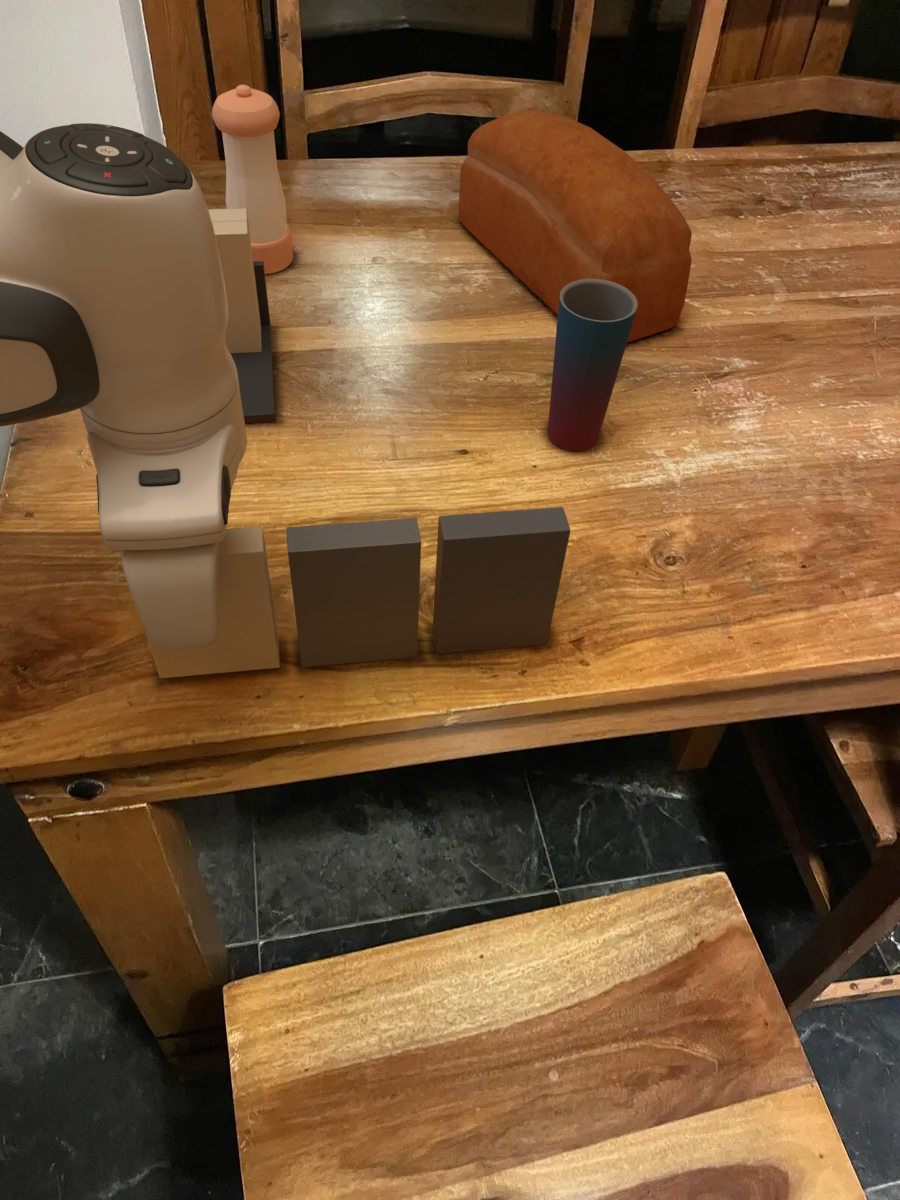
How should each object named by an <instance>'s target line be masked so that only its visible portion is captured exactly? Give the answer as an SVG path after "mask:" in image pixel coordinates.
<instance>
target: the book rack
mask: <svg viewBox="0 0 900 1200" xmlns="http://www.w3.org/2000/svg"><path fill="white" fill-rule="evenodd" d="M208 211H209V214H210V217H211V221H212V224H213V228H214V232H215V236H216V240H217V245H218V250H219V254H220V259H221V265H222V270H223V276H224V282H225V288H226V295H227V302H228V323H227V328H226V334H225V339H226V345H227V348H228V350H229V352H230V354H231V356H232V358H233V360H234V362H235V365H236V369H237V373H238V379H239V388H240V395H241V402H242V409H243V415H244V422H245V424H259V423H260V424H261V423H275V422H276V420H277V419H276V403H275V402H276V401H275V384H274V381H275V380H274V359H273V340H272V325H271V317H270V308H269V299H268V290H267V289H268V287H267V279H266V274H265V270H264V262H263V261H253V256H252V248H251V239H250V231H249V223H248V215H247V209H246V208H243V209H227V208H212V209H210V208H208Z"/></svg>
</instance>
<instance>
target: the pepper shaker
mask: <svg viewBox="0 0 900 1200" xmlns="http://www.w3.org/2000/svg"><path fill="white" fill-rule="evenodd" d="M211 109H212V110H211V117H212V120H213V122H214V124H215V126H216V127H217V129H218V130H219V131H220V132H221V135H222V142H223V144H222V145H223V149H224V160H225V168H226V171H225V172H226V175H225V206H226V207H225V208H226V209H243V208H246V209H247V215H248V223H249V231H250V239H251V248H252V256H253V261H263V262H264V270H265V275H267V274H269V275H270V274H274V273H278V272H280V271H283V270H285V269H286V268H288V267H289V266H290V265H291V264H292V262H293V259H294V252H293V242H292V241H293V240H292V230H291V228H290V225H289V224H288V221H287V205H286V204H287V203H286V197H285V192H284V189H283V185H282V181H281V177H280V173H279V172H280V171H279V169H278V160H277V151H276V140H275V129H277V128H278V127H277V126H278V124H279V120H280V116H281V112H280V110H279V106H278V104H277V102H276V101H275V99H273V97H272V95H270V94H268V93H266V92H264V91H261V90H259V89H256V88H251V87H250V86H249V85H247V84H239V85H237V86H236V88H233V89H230V90H227V91H225V92H223V93H221V94H219V95H218V96H217V97H216V99H215V101H214V103H213V105H212V108H211Z"/></svg>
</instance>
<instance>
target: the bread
mask: <svg viewBox="0 0 900 1200" xmlns="http://www.w3.org/2000/svg"><path fill="white" fill-rule="evenodd" d="M458 193H459V194H458V196H459V197H458V218H459V220H460V222H461V224H462V225H463V227H465V228H466V230H467V231H469V232H470V233H471V234H472V235H473V236H474V237H475V238H476V239H477V240H478V241H479V242H480V243H481V244H482V245H483V246H484V247H486V249H487V250H488V251H489V252H491V253H492V255H494V256H495V258H497V259H498V260H499V261H500V262H501V263H502V264H503V265H504V266H506V268H508V269H509V271H511V272H512V273H513V274H514V275H515V276H516V277H517V278H518V279H519V280H520V281H521V282H522V283H523V284H525V285H526V286H527V287H528V289H530V290H531V291H532V292H533V294H535V295H536V296H537V297H538V298H539V299H540V300H541V301H542V302H543V303H544V304H545V305H546V306H548V307H549V309H551V310H552V312H554V313H555V314H556V315H557V316H558V307H559V295H560V292H561V290H562V289H563V288H564V287H565V286H566V285H567V284H569V283H571V282H574V281H577V280H582V279H602V280H607V281H611V282H614V283H617V284H619V285H622V286H623V287H625V288H627V289H628V290H629V291H631V292H632V293H633V294H634V296H635V297H636V299H637V303H638V307H637V311H636V314H635V318H634V321H633V324H632V328H631V331H630V334H629V338H628V341H627V343H629V342H634V341H636V340H637V341H638V340H639V339H644V338H646V337H649V336H652V335H655V334H658V333H661V332H663V331H667V330H669V329H671V328H673V327H675V326H677V324H678V322H679V319H680V316H681V314H682V311H683V309H684V306H685V302H686V297H687V291H688V285H689V280H690V274H691V267H692V260H693V259H692V255H691V251H690V248H691V241H692V235H693V234H692V229H691V227H690V225H689V224H688V222H687V221H686V218H685V217H684V215H683V214H682V212H681V211H680V209H679V208H678V206H677V205H676V204H675V202H674V201H673V200H672V199H671V197H670V196H669V195H668V194H667V193H666V192H665V190H664V189H663V188H662V186H661V185H660V184H659V183H658V181H657V180H656V179H655V178H654V177H653V176H652V175H651V174H650V173H648V171H646V170H645V168H643V167H642V166H641V165H640V164H639V163H638V162H637V161H636V160H635V159H634V157H632V156H631V155H630V154H628V153H627V152H626V151H625V150H624V149H622V148H621V147H619V146H618V145H617V144H615V143H613V142H612V141H610V140H609V139H607V138H606V137H604V136H603V135H601V134H600V133H599V132H598V131H596V130H594V129H593V128H592V127H590V126H588V125H585V124H583V123H581V122H579V121H577V120H574V119H572V118H570V117H566V116H563V115H560V114H556V113H553V112H549V111H545V110H539V109H533V108H526V109H523V110H518V111H515V112H511V113H508V114H505V115H501V116H499V117H497V118H495V119H492V120H490V121H488V122H487V123H484V124H482V125H480V126H479V127H478V128H477V129H475V130H474V131H473V133H472V134H471V136H470V137H469V139H468V140H467V156H466V157H465V159H464V161H463V163H462V164H461V166H460V170H459V192H458Z"/></svg>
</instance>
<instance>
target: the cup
mask: <svg viewBox="0 0 900 1200" xmlns="http://www.w3.org/2000/svg"><path fill="white" fill-rule="evenodd" d="M637 307H638V303H637V299H636V297H635V296H634V294H633V293H632V292H631V291H629V290H628V289H627V288H625V287H623V286H622V285H619V284H617V283H614V282H611V281H607V280H602V279H582V280H577V281H574V282H571V283H569V284H567V285H566V286H565V287H564V288H563V289H562V290H561V292H560V295H559V307H558V315H557V319H556V329H555V342H554V353H553V354H554V355H553V363H552V364H553V367H552V377H551V386H550V387H551V388H550V399H549V411H548V424H547V436H548V437H547V438H548V439H549V441H550V442H551V443H552V444H553V445H554V446H556V447H557V448H558V449H561V450H564V451H566V452H567V451H568V452H574V453H575V452H576V453H577V452H578V453H579V452H585V451H588V450H591V449H592V448H594V447H595V446H596V445H597V444H598V441H599V437H600V434H601V431H602V427H603V425H604V421H605V418H606V414H607V411H608V408H609V404H610V401H611V398H612V394H613V391H614V387H615V384H616V381H617V377H618V374H619V371H620V367H621V364H622V360H623V357H624V355H625V351H626V347H627V344H628V342H627V341H628V338H629V334H630V331H631V328H632V324H633V321H634V318H635V314H636V311H637Z"/></svg>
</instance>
